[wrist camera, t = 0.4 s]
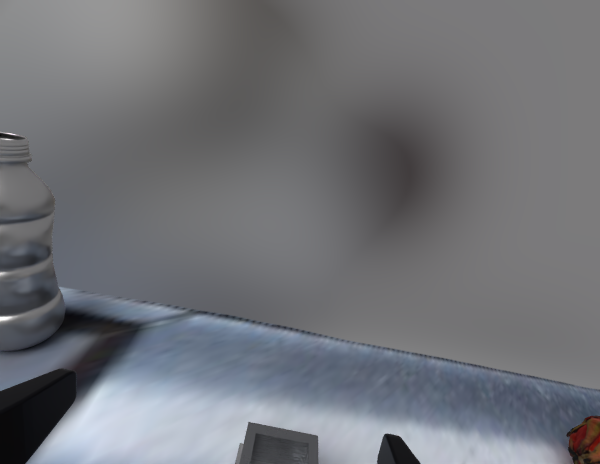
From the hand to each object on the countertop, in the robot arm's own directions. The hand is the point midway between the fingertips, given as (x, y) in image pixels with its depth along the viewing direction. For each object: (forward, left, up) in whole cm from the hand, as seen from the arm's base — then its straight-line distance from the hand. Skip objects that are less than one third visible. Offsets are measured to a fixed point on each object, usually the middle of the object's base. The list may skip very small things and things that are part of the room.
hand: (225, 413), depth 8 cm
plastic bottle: (+17, +24, -18) cm, 34 cm away
